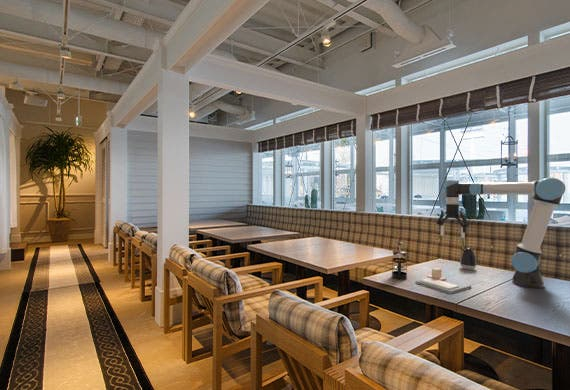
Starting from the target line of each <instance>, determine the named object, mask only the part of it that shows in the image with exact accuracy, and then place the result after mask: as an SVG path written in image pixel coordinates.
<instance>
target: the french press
mask: <svg viewBox="0 0 570 390" xmlns="http://www.w3.org/2000/svg"><path fill="white" fill-rule="evenodd" d="M396 244H398V246H399V249H396V250H395V249H394V250H392V255H393V256H396V255H399V257H392V259H391V263H392V264H391V269H392V271H391V278H392V279H393V280H397V281H406V280H408V267H404V266H402V264H408V259H407V258H404V257H407V254H408V251H406V250H401V245H402V244H404V242H403V241H397V242H396ZM401 255H402V256H403V258H402V257H401ZM393 263H397V266H396V265H395V266H393Z"/></svg>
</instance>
